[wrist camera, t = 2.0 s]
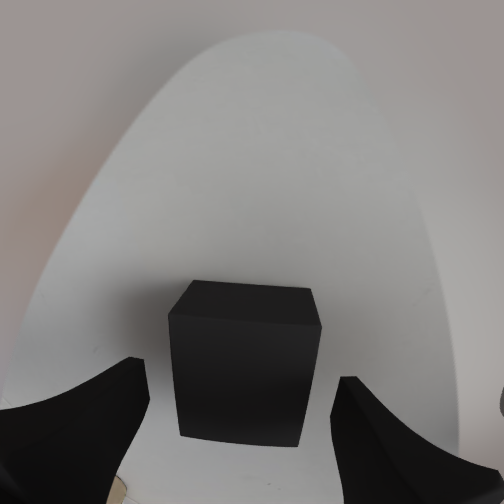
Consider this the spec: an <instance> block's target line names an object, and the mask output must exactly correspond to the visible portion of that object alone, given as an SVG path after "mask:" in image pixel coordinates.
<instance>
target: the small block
mask: <svg viewBox="0 0 504 504" xmlns="http://www.w3.org/2000/svg"><path fill="white" fill-rule="evenodd" d="M168 320H169V335H170V348H171V360H172V371H173V381H174V391H175V400H176V408H177V416H178V424H179V431H180V435H181V436H184V437H190V438H197V439H203V440H210V441H218V442H226V443H235V444H246V445H258V446H276V447H298V445H299V440H300V436H301V432H302V428H303V423H304V419H305V414H306V410H307V405H308V400H309V395H310V390H311V385H312V380H313V375H314V370H315V365H316V359H317V354H318V348H319V342H320V336H321V330H322V326H321V322H320V319H319V315H318V312H317V308H316V305H315V302H314V298H313V295H312V292H311V289H310V288H295V287H279V286H264V285H250V284H237V283H224V282H212V281H200V280H193V281H192V283H191V284H190V285H189V287H188V288H187V289H186V291H185V292H184V293H183V295H182V296H181V297H180V299H179V300H178V301H177V303H176V304H175V305H174V307H173V308H172V310H171V311H170V312H169V314H168Z"/></svg>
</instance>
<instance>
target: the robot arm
mask: <svg viewBox="0 0 504 504" xmlns="http://www.w3.org/2000/svg"><path fill="white" fill-rule="evenodd" d="M149 402H150V396H149V390H148V384H147V377H146V371H145V364H144V359H140V358H134V357H128V358H126V359H124V360H122V361H120V362H119V363H117V364H115V365H114V366H112V367H110V368H109V369H107V370H105V371H104V372H102V373H100V374H99V375H97V376H95V377H94V378H92V379H90V380H88V381H86V382H84V383H82V384H80V385H79V386H77V387H75V388H73V389H71V390H69V391H66V392H64V393H62V394H60V395H57V396H54V397H52V398H49V399H46V400H43V401H40V402H37V403H33V404H29V405H26V406H22V407H16V408H11V409H4V410H0V504H106V503H107V500H108V496H109V493H110V490H111V487H112V484H113V481H114V478H115V476H116V473H117V470H118V468H119V466H120V464H121V461H122V459H123V458H124V456H125V454H126V452H127V450H128V448H129V446H130V444H131V442H132V441H133V439H134V437H135V435H136V433H137V431H138V429H139V427H140V425H141V423H142V421H143V419H144V416H145V413H146V411H147V408H148V405H149ZM330 423H331V435H332V442H333V447H334V451H335V456H336V461H337V465H338V470H339V474H340V479H341V484H342V489H343V497H344V504H500V503H501V502H502V501H503V500H504V480H503V478H502V476H501V475H500V473H499V471H498V470H495V469H491V468H487V467H484V466H480V465H477V464H474V463H471V462H468V461H466V460H463V459H461V458H458V457H456V456H454V455H452V454H450V453H448V452H446V451H444V450H442V449H440V448H439V447H437V446H435V445H433V444H432V443H430V442H428V441H427V440H425V439H424V438H422V437H421V436H420V435H418V434H417V433H415V432H414V431H413V430H411V429H410V428H409V427H407V426H406V425H405V424H404V423H403V422H401V421H400V420H399V419H398V418H397V417H396V416H395V415H394V414H392V413H391V412H390V411H389V410H388V409H387V408H386V407H385V406H384V405H383V404H382V403H381V402H380V401H379V400H378V399H377V398H376V397H375V396H374V395H373V394H372V392H371V391H370V390H369V389H368V388H367V387H366V386H365V385H364V384H363V383H362V382H361V381H360V380H359V379H358V377H357V376H347V377H340V380H339V384H338V388H337V392H336V396H335V400H334V404H333V407H332V411H331V414H330Z"/></svg>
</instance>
